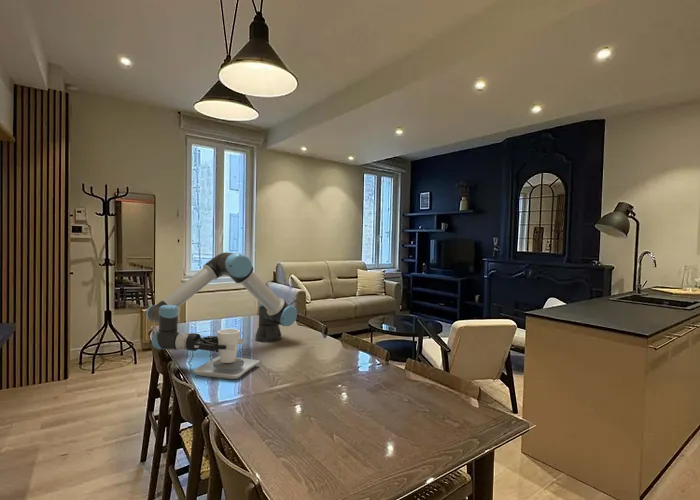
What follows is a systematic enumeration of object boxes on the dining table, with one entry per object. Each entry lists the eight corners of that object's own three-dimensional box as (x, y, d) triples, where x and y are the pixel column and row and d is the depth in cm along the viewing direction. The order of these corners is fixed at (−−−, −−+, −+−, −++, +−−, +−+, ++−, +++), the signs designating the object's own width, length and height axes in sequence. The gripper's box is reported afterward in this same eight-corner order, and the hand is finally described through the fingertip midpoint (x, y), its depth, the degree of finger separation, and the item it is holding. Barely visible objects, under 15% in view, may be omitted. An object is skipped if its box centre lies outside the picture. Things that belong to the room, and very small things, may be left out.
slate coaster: (237, 358, 177) (237, 356, 177) (248, 366, 167) (248, 364, 167) (208, 362, 169) (208, 360, 169) (219, 371, 159) (219, 369, 159)
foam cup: (242, 358, 172) (243, 329, 172) (234, 364, 163) (235, 334, 163) (222, 356, 173) (222, 328, 173) (213, 363, 164) (213, 333, 164)
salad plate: (237, 383, 156) (238, 375, 155) (191, 378, 160) (191, 370, 160) (260, 367, 176) (260, 359, 176) (218, 362, 181) (218, 355, 180)
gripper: (200, 343, 180) (246, 345, 179) (175, 357, 158) (228, 360, 157) (200, 327, 180) (247, 329, 178) (176, 339, 158) (229, 342, 157)
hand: (238, 344), depth 168 cm, fingers closed on foam cup, 9 cm apart
